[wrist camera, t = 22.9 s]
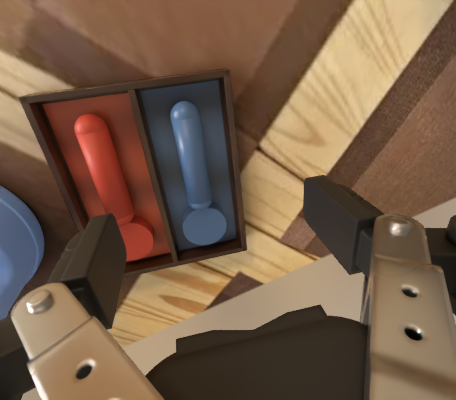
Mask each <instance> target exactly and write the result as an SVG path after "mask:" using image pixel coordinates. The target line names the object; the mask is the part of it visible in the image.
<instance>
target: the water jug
mask: <svg viewBox="0 0 456 400" xmlns="http://www.w3.org/2000/svg"><path fill="white" fill-rule="evenodd" d="M43 254H44V236H43V232H42V229H41V226H40V224H39V222H38V220H37V219H36V217H35V215H34V214H33V213H32V211H31V210H30V209H29V208H28V207H27V205H26V204H25V203H24V202H22V201H21V200H20V199H19V198H18V197H17V196H15V195H14V194H13V193H11V192H10V191H9V190H7V189H5V188H4V187H2V186H0V320H1V319H4V318H6V317H7V315H8V312H9V310H10V308H11V306H12V305H13V303H14V302H15V300H16V299H17V297H18V295H19V294H20V292H21V291H22V289H23V287H24V286H25V285H26V284H27V283H28V281H29V280H30V279H31V278H32V277H33V275H34V274H35V272H36V271H37V269H38V267H39V265H40V263H41V260H42V258H43Z"/></svg>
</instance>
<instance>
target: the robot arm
mask: <svg viewBox="0 0 456 400" xmlns="http://www.w3.org/2000/svg"><path fill="white" fill-rule="evenodd" d="M303 212H304V217H305V220H306V222H307V224H308V225H309V226H310V227H311V229H312V230H313V231H314V232H315V233H316V235H317V236H318V237H319V238H320V240H321V241H322V242H323V243H324V244H325V246H326V247H327V248H328V249H329V251H330V252H331V253H332V254H333V255H334V257H335V258H336V259H337V260H338V261H339V263H340V264H341V265H342V266H343V268H344V269H345V270H346V271H347V272H348V274H349V275H351V274H356V273H360V272H363V274H364V275H365V277H364V283H363V294H362V304H361V315H360V322H358V321H354V320H352V319H347V318H343V317H337V316H327V315H326V313H325V311H324V310H323V308H322V307H321V305H317V306H313V307H308V308H304V309H300V310H296V311H292V312H287V313H285V314H283V315H281V316H279V317H277V318H276V319H274V320H272V321H270V322H268V323H266V324H264V325H262V326H261V327H258V328H256V329H254V330H212V331H208V332H204V333H199V334H195V335H192V336H187V337H183V338H179V339H176V353H174V354H172V355H170V356H169V357H167V358H165V359H164V360H162V361H161V362H160V363H159V364H157V365H156V366H155V367H154V368H153V369H152V370H151V371H150V372H149V373H148V374H147V375H146V376H144V375H143V373H142V372H141V371H140V370H139V368H138V367H137V366H136V365H135V364H134V362H133V361H132V360H131V359H130V357H128V355H127V354H126V353H125V351H124V350H123V349H122V348H121V347H120V345H119V344H118V343H117V342H116V341H115V339H114V338H113V337H112V336H111V335H110V333H109V332H108V331H107V329H111V328H112V325H113V320H114V316H115V311H116V306H117V302H118V297H119V292H120V288H121V283H122V278H123V274H124V269H125V264H126V260H127V251H126V246H125V243H124V240H123V237H122V235H121V232H120V229H119V227H118V224H117V221H116V218H115V216H114V215H113V214H112V213H109V214H104V215H98V216H93V217H91V218H90V220H89V222H88V224H87V226H86V228H85V230H84V231H79V232H78V233H77V234H76V235H75V236H74V237H73V238H72V239H71V240H70V241H69V242H68V244H67V246H66V248H65V252H63V253H62V255H61V257H60V260H59V261H58V262H57V264H56V266H55V268H54V270H53V272H52V273H51V275H50V277H49V279H48V281H47V283H46V284H45V285H43V286H40V287H38V288H36V289H34V290H32V291H31V292H29V293H28V294H26V295H25V296H24V297H22V298H21V299H20V300H19V301H18V302H17V303H16V305H15V306H14V308H13V309H12V312H11V316H8V317H6V318H4V319H1V320H0V400H21V398H22V395H23V394H24V393H26V392H27V391H29V390H31V389H33V388H35V387H36V388H37V390H38V392H39V395H40V397H41V399H42V400H456V325H455V320H454V316H453V313H454V314H455V315H456V215H455V216H453V217H451V219H450V221H449V224H448V227H447V228H424V226H423V225H422V224H421V223H419V222H418V221H417V220H415V219H413V218H410V217H407V216H403V215H398V214H386V215H385V214H384V213H383V212H381V211H380V210H378V209H377V208H376V207H374V206H373V205H372V204H370V203H369V202H368V201H366V200H364V198H362V197H361V196H359V195H357V193H355V192H354V191H353V190H351V189H350V188H348V187H345V186H343V185H340V184H336V183H334V182H333V181H332V180H330V179H329V178H328V177H326V176H325V175H320V176H315V177H309V178H306V179H305V182H304V204H303Z"/></svg>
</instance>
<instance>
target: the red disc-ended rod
mask: <svg viewBox="0 0 456 400" xmlns="http://www.w3.org/2000/svg"><path fill="white" fill-rule="evenodd" d="M74 130H75V134H76V136H77V139H78V142H79V144H80V147H81V150H82V152H83V155H84V157H85V160H86V163H87V165H88V168H89V171H90V173H91V176H92V179H93V181H94V184H95V187H96V189H97V192H98V194H99V197H100V200H101V202H102V205H103V208H104V210H105V213H106V214H109V213H112V214H113V215H114V216H115V218H116V221H117V224H118V227H119V229H120V232H121V235H122V237H123V240H124V243H125V246H126V251H127V261H133V260H138V259H141V258H143V257H145V256H146V255H147V254H148V253H149V252H150V251H151V250H152V247H153V244H154V229H153V227H152V225H151V224H150V223H149V222H148V221H147V220H146V219H144V218H142V217H140V216H136V215H134V208H133V205H132V202H131V199H130V196H129V193H128V189H127V186H126V183H125V180H124V177H123V174H122V171H121V167H120V164H119V161H118V158H117V155H116V152H115V149H114V145H113V142H112V139H111V136H110V133H109V130H108V127H107V124H106V123H105V121H104V120H103V119H102V118H100V117H99V116H97V115H94V114H85V115H82V116H80V117H79V118H78V119H77V120H76V122H75V126H74Z"/></svg>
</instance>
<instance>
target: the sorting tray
mask: <svg viewBox="0 0 456 400" xmlns="http://www.w3.org/2000/svg"><path fill="white" fill-rule="evenodd" d="M19 100H20V102H21V104H22V107H23V109H24V111H25V113H26V116H27V118H28V120H29V122H30V124H31V127H32V129H33V131H34V133H35V136H36V138H37V140H38V142H39V144H40V147H41V149H42V151H43V153H44V155H45V158H46V160H47V162H48V164H49V167H50V169H51V171H52V173H53V175H54V178H55V180H56V182H57V184H58V187H59V189H60V191H61V193H62V195H63V198H64V200H65V202H66V204H67V207H68V209H69V211H70V213H71V215H72V218H73V220H74V222H75V224H76V227H77V229H78V231H84V230H85V228H86V226H87V224H88V222H89V220H90V218H91V217H93V216H98V215H104V214H106V213H105V210H104V208H103V205H102V202H101V200H100V197H99V194H98V192H97V189H96V187H95V184H94V181H93V179H92V176H91V173H90V171H89V168H88V165H87V163H86V160H85V157H84V155H83V152H82V150H81V147H80V144H79V142H78V139H77V136H76V134H75V130H74V126H75V122H76V120H77V119H78V118H79V117H80V116H82V115H85V114H94V115H97V116H99V117H100V118H102V119H103V120H104V121H105V123H106V124H107V127H108V130H109V133H110V136H111V139H112V142H113V145H114V149H115V152H116V155H117V158H118V161H119V164H120V167H121V171H122V174H123V177H124V180H125V183H126V186H127V189H128V193H129V196H130V199H131V202H132V205H133V208H134V215H136V216H140V217H142V218H144V219H146V220H147V221H148V222H149V223H150V224H151V225H152V227H153V229H154V244H153V247H152V250H151V251H150V252H149V253H148V254H147V255H146V256H145V257H143V258H141V259H138V260H133V261H127V260H126V264H125V269H124V274H123V278H124V277H129V276H133V275H138V274H142V273H147V272H151V271H156V270H160V269H165V268H169V267H174V266H178V265H183V264H187V263H192V262H196V261H201V260H205V259H210V258H214V257H219V256H223V255H228V254H232V253H237V252H241V251H246V250H247V245H246V234H245V224H244V214H243V203H242V193H241V183H240V172H239V162H238V151H237V141H236V131H235V120H234V110H233V99H232V89H231V79H230V70H229V69H217V70H209V71H202V72H194V73H186V74H179V75H171V76H164V77H156V78H148V79H141V80H133V81H126V82H118V83H110V84H103V85H95V86H88V87H80V88H73V89H65V90H57V91H50V92H42V93H35V94H29V95H25V96H21V97H19ZM181 101H189V102H191V103H193V104H194V105H195V106H196V107H197V108H198V110H199V113H200V119H201V126H202V132H203V139H204V145H205V152H206V158H207V165H208V171H209V178H210V184H211V191H212V202H213V203H215V204H217V205H218V206H219V207H220V208H221V209H222V211H223V213H224V216H225V218H226V221H227V228H226V231H225V233H224V235H223V236H222V237H221V238H220V239H219V240H218V241H217V242H215V243H212V244H209V245H197V244H194V243H192V242H190V241H189V240H188V239H187V238H186V237H185V235H184V232H183V226H182V217H183V214H184V212H185V211H186V209H187V208H188V207H189V206H190V205H189V203H188V200H187V195H186V190H185V185H184V181H183V176H182V171H181V166H180V161H179V156H178V151H177V146H176V141H175V136H174V132H173V127H172V122H171V110H172V108H173V107H174V105H175V104H177V103H178V102H181Z"/></svg>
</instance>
